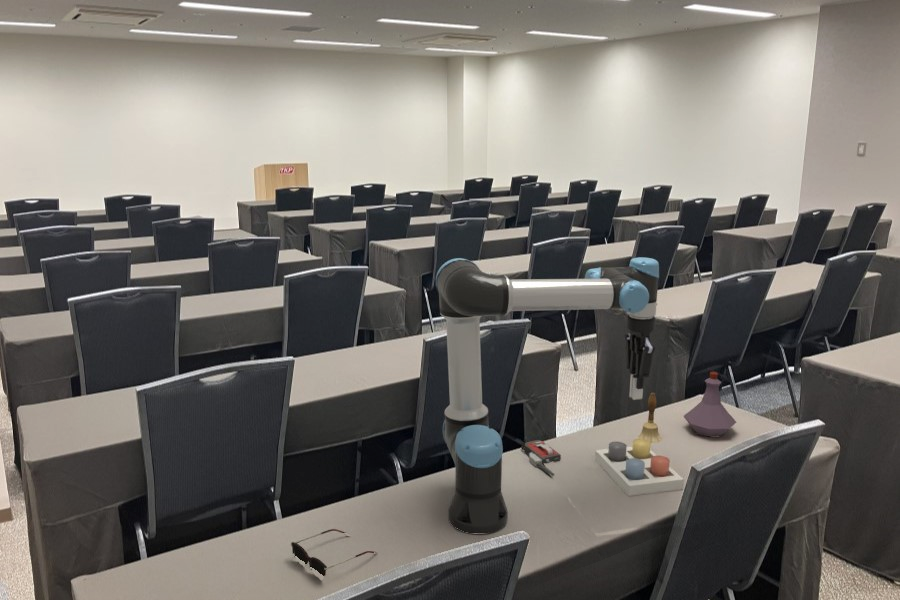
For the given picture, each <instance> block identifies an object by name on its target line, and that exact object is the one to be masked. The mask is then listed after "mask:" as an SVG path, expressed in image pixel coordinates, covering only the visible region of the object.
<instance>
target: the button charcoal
mask: <svg viewBox="0 0 900 600" xmlns="http://www.w3.org/2000/svg"><path fill="white" fill-rule="evenodd" d="M627 447H628V446H627V443H625V442H622V441H612V442H609V443H608V449H609V452H608V458H609V459H610V460H611V461H615V462H623V461H625V460H626V449H627Z"/></svg>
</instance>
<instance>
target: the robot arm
mask: <svg viewBox="0 0 900 600" xmlns="http://www.w3.org/2000/svg"><path fill="white" fill-rule="evenodd" d="M659 265H660V264H659V261H658V260H656V259H654V258H652V257H651V258H650V257H642V256H641V257H640V256H639V257H633V258H632V259H630V261H629V265H628V266H624V267H623V266H621V267H620V266H619V267H596V268H590V269H588V270H587V271H586V273H585V275H584V278H547V279H546V278H542V279H541V278H538V279H536V278H532V279H531V278H529V279H528V278H527V279H521V278H520V279H510V278H509V277H508V276H507V275H500V274H499V275H497V274H496V275H494V274H489V273H486V272H484V271H482V270H481V269H480V267H479V266H478V265H477V264H476V262H475V263H474V262H473V261H471V260H469V259H466V258H461V257H458V258H456V257H455V258H452V259H449V260H448V261H446V262H444V263H443V264H442V265H441V266H440V267H439V269H438V270H437V272H436V276H435V287H436V291H437V292H438V298H439V315H441V317H443V318H444V319H445V320H446V324H445V325H446V346H447V368H448V371H447V372H448V388H449V389H448V390H449V391H448V392H449V405H448V406H446V408H445V409H444V420H443V424H442V436H443V440H444V443H445V445H446V446H447V448H448V451H449V453H450V456H451V458H452V459H453V462H454V467H455V469H454V470H455V472H454V473H455V477H454V478H455V481H454V483H455V490H454V494H453V496H452V499H451V502H450V504H449V507H448V522H449V521H450V522H449V523H451V524H452V525H453V526H454V527H456V528H458V529H460V530H462V531H464V532H463V533H465V532H468V533H467V534H470V533H488V534H492V533H495V532H497V531H500V530H501V529H503V528H505V526H506V525H507V523H508V519H509V518H508V514H509V513H508V507H507V504H506V502H505V499H504V495H503V492H502V475H503V474H502V473H503V472H502V470H503V467H502V466H503V465H502V463H503V459H502V458H503V449H504V448H503V440H502V437H501V435H500V433H498V432H497V430H495V429H494V428H492V427H491V428H490V425H489V408H488V407H487V406H486V405H485V404H483V389H482V388H483V387H482V386H483V385H482V360H481V359H482V358H481V357H482V356H481V355H482V354H481V351H482V350H481V327H480V326H481V325H480V322H481V321H480V319H481V318H482V317H490V316H491V317H494V316H501V317H504V316H507V315H508V314H509V313H510V312H525V311H527V312H528V311H529V312H530V311H531V312H534V311H572V310H573V311H577V310H623V311H624V312H626V314H627V315H626V325H625V327H626V329H627V330H628V331H629V333H625V334H624V339H625V353H626V354H625V357H626V358H625V359H626V369H627V370H629V374H630V383H629V394H628V395H629V398H631V399H632V400H633V401H635V400H642V399H643V395H644V380H645V378H649V377H650V372H651V367H652V366H651V365H652V360H653V354H654V352H655V350H656V346H655V345H652V344H651V343H650V342H651V336H650V335H651V333H652V332H654V331H655V329H656V320H657V319H656V314H657V313H656V312H657V306H658V303H657V301H658V288H659V287H658V286H659V278H660V266H659ZM451 524H450V525H451ZM452 525H451V526H452ZM453 526H452V527H453ZM454 527H453V528H454ZM456 528H455V529H456ZM458 529H457V530H458ZM460 530H459V531H460ZM462 531H461V532H462Z"/></svg>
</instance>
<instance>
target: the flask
mask: <svg viewBox="0 0 900 600" xmlns="http://www.w3.org/2000/svg"><path fill="white" fill-rule="evenodd" d="M718 376H719V373H718V372H716V371H710V372H709V378H706V379H705V380H704V383H705V384H706V385H705V386H706V388H705V392H704V394H703V397H702V398H701V401H700V402H698V403H697V404H696V405H695V406H694V407H693V408H692V409H690V410H689V411H688V412H686V413H685V414H684V415H683V419H685V421H686V422H687V423H688V425H689V426H690V427H691V428H692V430H693V429H694V430H695V431H696V432H697V433H698V434H697V433H696V432H695V431H694V430H693V431H694V432H695V433H696V434H697V435H699V434H701V435H700V436H703V435H705V436H704V437H706V436H720V437H721V436H722V435H724V434H725V433H726V432H727V431H728V430H730V428H732V427H733V426H734V425H735V424H736V423H737V420H736V419H735V418H734V417H733V416H732V415H731V414H730V413H729V412H728V410H727V409H726V408H725V406H724V405H723V403H722V401H721V396H720V385H721V384H722V381H721V380H719V379H718Z"/></svg>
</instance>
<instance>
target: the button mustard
mask: <svg viewBox="0 0 900 600" xmlns="http://www.w3.org/2000/svg"><path fill="white" fill-rule="evenodd" d="M650 450H651V443H650V442H649V441H647V440H644V439H639V438H636V439H633V440H632V456H633V457H635V458H638V459H647V458H649V457H650Z"/></svg>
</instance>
